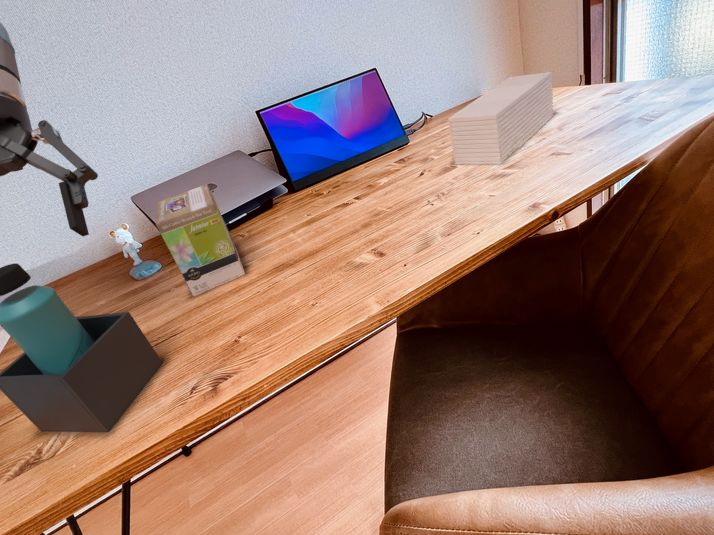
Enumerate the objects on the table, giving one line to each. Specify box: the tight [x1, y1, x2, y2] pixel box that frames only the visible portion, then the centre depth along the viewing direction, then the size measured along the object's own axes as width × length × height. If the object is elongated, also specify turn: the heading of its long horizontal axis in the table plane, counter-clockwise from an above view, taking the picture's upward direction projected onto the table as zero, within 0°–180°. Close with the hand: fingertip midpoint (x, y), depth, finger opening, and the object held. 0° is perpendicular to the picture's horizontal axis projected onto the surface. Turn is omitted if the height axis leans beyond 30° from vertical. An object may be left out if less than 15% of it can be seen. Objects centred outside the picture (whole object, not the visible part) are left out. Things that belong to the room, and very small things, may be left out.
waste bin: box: [0, 311, 164, 433], centre depth 54 cm, size 11×11×10 cm
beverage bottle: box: [0, 262, 96, 375], centre depth 51 cm, size 6×7×20 cm
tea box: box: [155, 184, 246, 297], centre depth 78 cm, size 15×10×15 cm
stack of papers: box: [447, 71, 554, 165], centre depth 99 cm, size 32×11×11 cm, turn 141°
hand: (22, 251), depth 51 cm, fingers open, 13 cm apart
